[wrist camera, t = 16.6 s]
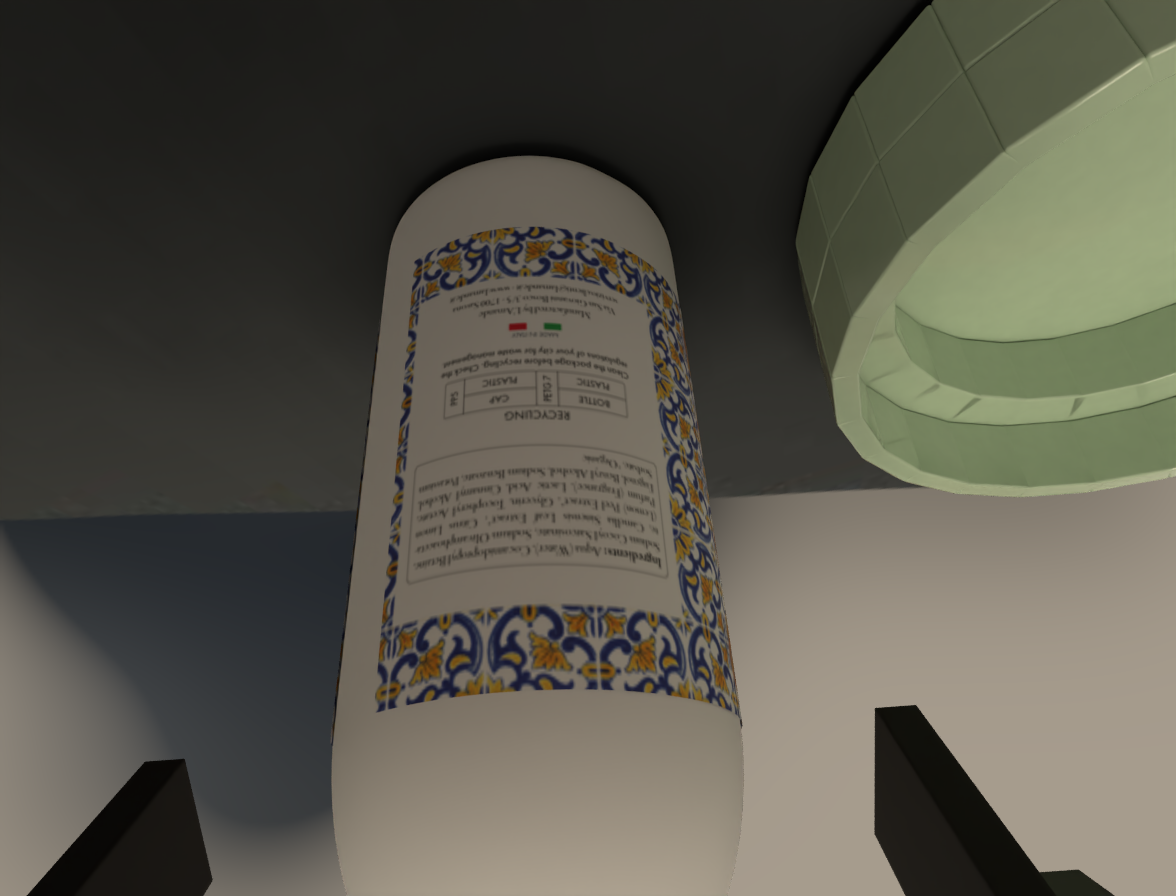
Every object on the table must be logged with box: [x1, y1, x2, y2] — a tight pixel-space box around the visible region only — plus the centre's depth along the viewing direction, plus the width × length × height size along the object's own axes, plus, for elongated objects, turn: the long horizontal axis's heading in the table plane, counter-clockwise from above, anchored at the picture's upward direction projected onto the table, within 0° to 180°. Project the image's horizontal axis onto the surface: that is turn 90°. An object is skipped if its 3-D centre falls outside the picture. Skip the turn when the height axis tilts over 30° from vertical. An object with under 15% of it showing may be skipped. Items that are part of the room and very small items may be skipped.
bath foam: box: [330, 156, 744, 896], centre depth 14 cm, size 7×7×20 cm
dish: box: [796, 0, 1176, 497], centre depth 17 cm, size 15×15×4 cm
